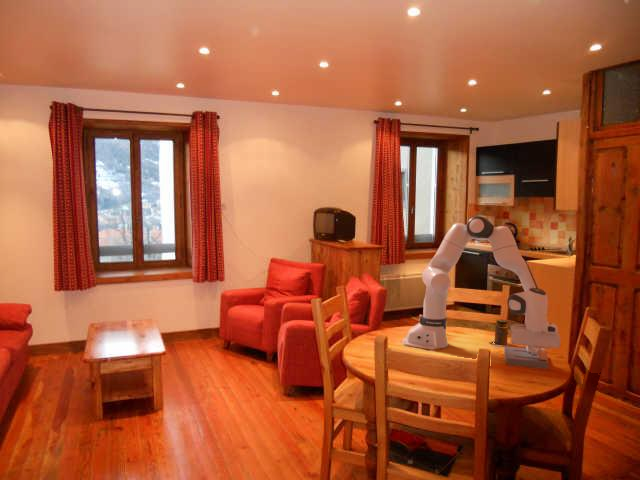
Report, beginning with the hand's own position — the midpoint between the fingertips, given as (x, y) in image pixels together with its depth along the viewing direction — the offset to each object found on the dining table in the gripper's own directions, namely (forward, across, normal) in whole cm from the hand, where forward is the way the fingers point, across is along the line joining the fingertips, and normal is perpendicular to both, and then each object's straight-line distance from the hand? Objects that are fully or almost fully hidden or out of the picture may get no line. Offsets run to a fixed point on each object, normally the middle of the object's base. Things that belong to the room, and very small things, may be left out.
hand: (534, 355), depth 220 cm
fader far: (+1, -1, +9) cm, 9 cm away
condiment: (+4, -13, +28) cm, 31 cm away
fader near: (+1, +3, 0) cm, 3 cm away
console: (+4, -3, +5) cm, 7 cm away
